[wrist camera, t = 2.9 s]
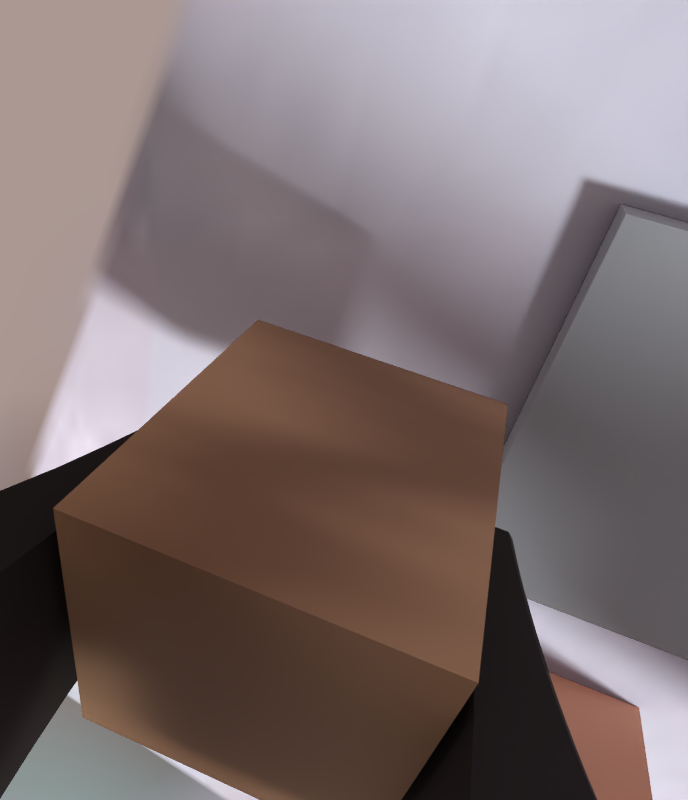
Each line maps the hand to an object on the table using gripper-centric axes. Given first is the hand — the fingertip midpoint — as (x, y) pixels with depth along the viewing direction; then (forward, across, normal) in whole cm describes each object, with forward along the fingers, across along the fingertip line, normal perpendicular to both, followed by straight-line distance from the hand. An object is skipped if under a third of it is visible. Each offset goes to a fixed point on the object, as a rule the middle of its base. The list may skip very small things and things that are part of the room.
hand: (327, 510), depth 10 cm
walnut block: (+2, 0, 0) cm, 2 cm away
